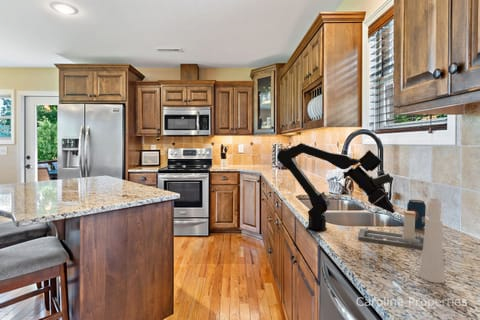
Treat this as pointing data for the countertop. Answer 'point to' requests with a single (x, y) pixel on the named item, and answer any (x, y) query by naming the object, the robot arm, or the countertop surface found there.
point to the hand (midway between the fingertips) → (393, 209)
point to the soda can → (418, 212)
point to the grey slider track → (390, 238)
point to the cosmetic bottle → (433, 245)
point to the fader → (409, 225)
